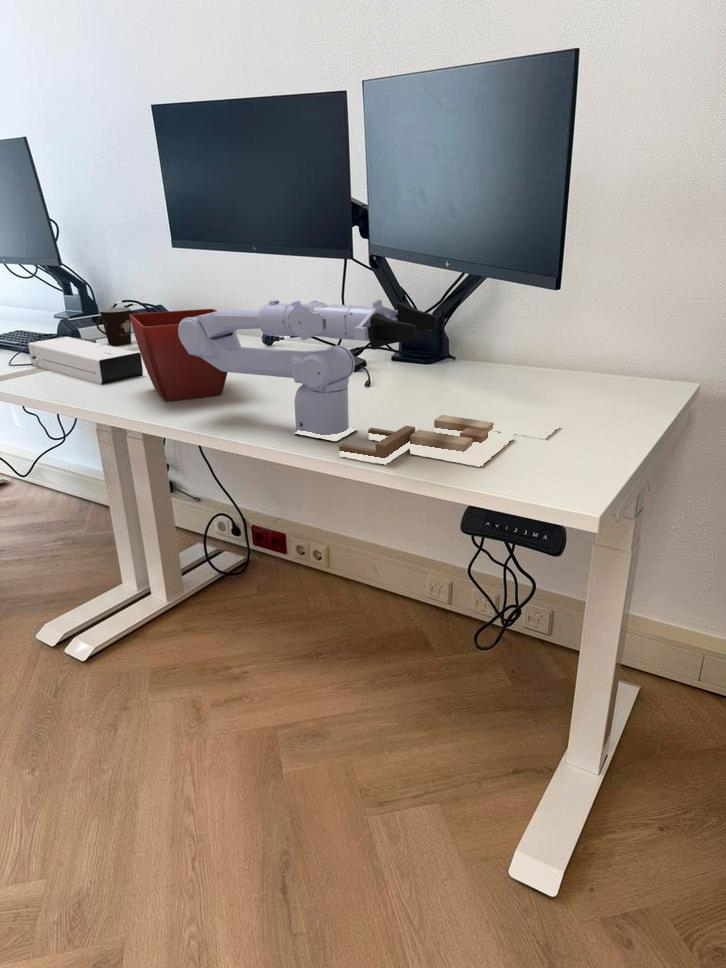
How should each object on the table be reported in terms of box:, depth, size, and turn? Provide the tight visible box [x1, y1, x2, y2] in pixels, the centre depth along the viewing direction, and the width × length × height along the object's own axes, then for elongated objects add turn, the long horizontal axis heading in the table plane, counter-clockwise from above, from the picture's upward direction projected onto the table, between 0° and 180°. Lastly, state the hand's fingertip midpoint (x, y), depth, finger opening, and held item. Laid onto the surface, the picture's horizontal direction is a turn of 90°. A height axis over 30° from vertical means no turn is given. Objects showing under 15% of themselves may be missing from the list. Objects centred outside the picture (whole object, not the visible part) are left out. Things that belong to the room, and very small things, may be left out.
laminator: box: [27, 336, 144, 385], centre depth 178 cm, size 34×12×6 cm, turn 51°
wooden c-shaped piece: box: [338, 425, 416, 458], centre depth 121 cm, size 9×11×4 cm
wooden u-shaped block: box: [410, 414, 494, 452], centre depth 123 cm, size 14×16×3 cm
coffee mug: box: [95, 307, 132, 347], centre depth 208 cm, size 12×9×10 cm
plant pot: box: [130, 308, 229, 402], centre depth 156 cm, size 19×19×17 cm
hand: (426, 327), depth 114 cm, fingers open, 7 cm apart
